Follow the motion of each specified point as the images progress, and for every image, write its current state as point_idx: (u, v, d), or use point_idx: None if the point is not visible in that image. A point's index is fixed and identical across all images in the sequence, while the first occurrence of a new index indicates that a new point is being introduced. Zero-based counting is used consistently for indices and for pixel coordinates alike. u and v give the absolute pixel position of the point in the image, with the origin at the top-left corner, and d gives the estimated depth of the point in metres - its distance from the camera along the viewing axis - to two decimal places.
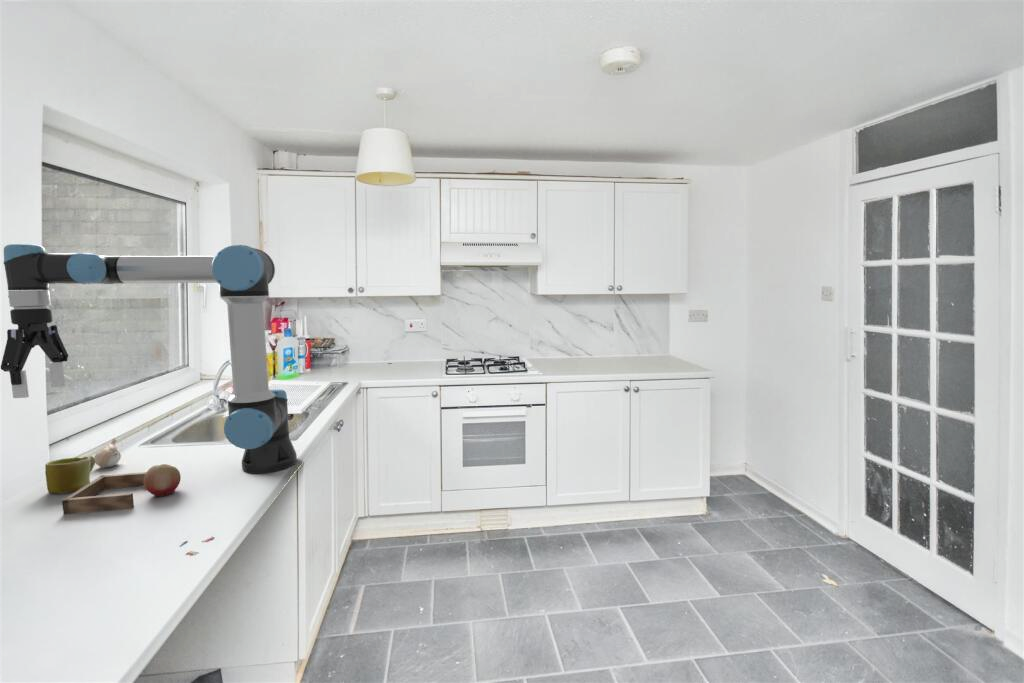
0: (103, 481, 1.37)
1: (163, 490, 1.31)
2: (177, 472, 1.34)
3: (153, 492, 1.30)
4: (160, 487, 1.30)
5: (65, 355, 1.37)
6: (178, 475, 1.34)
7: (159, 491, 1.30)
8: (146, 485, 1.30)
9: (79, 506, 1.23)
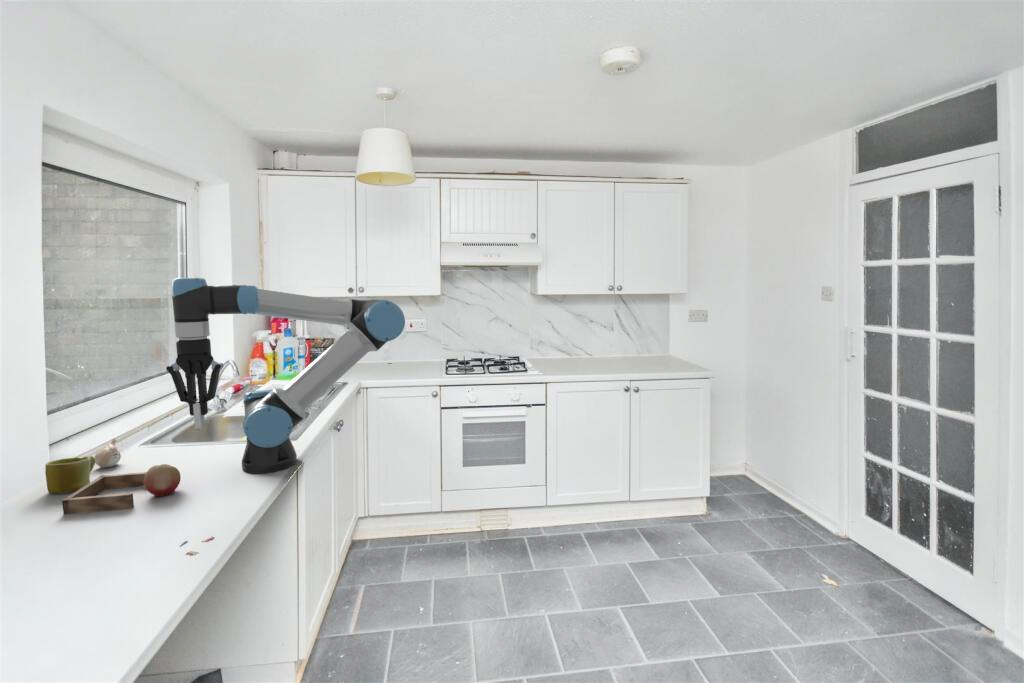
0: (103, 481, 1.37)
1: (163, 490, 1.31)
2: (177, 472, 1.34)
3: (153, 492, 1.30)
4: (160, 487, 1.30)
5: (207, 396, 1.33)
6: (178, 475, 1.34)
7: (159, 491, 1.30)
8: (146, 485, 1.30)
9: (79, 506, 1.23)
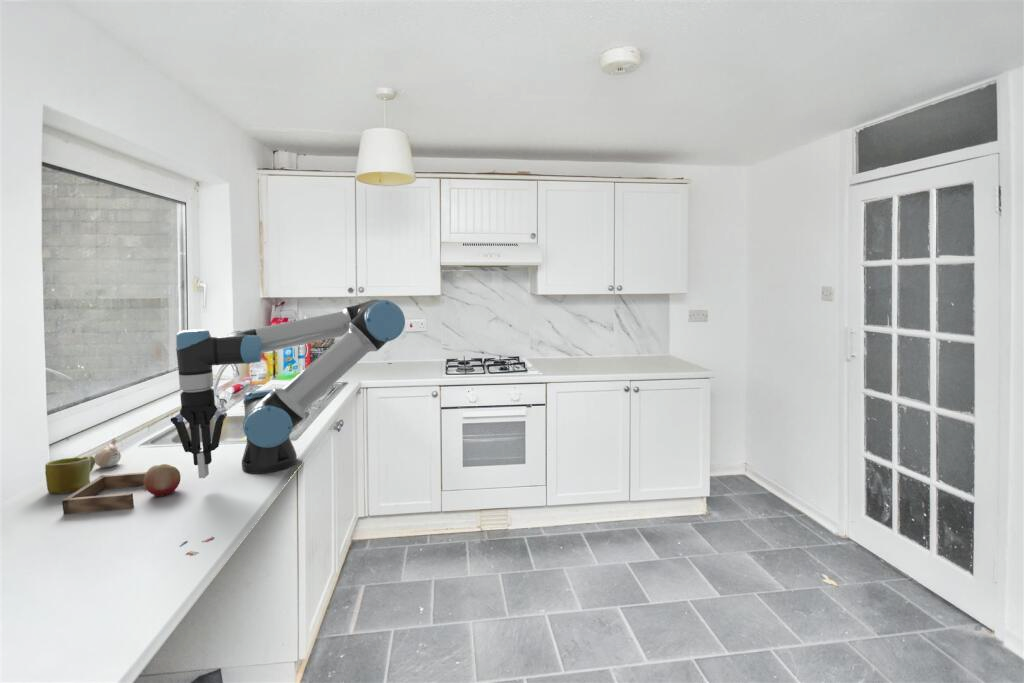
0: (103, 481, 1.37)
1: (163, 490, 1.31)
2: (177, 472, 1.34)
3: (153, 492, 1.30)
4: (160, 487, 1.30)
5: (211, 446, 1.34)
6: (178, 475, 1.34)
7: (159, 491, 1.30)
8: (146, 485, 1.30)
9: (79, 506, 1.23)
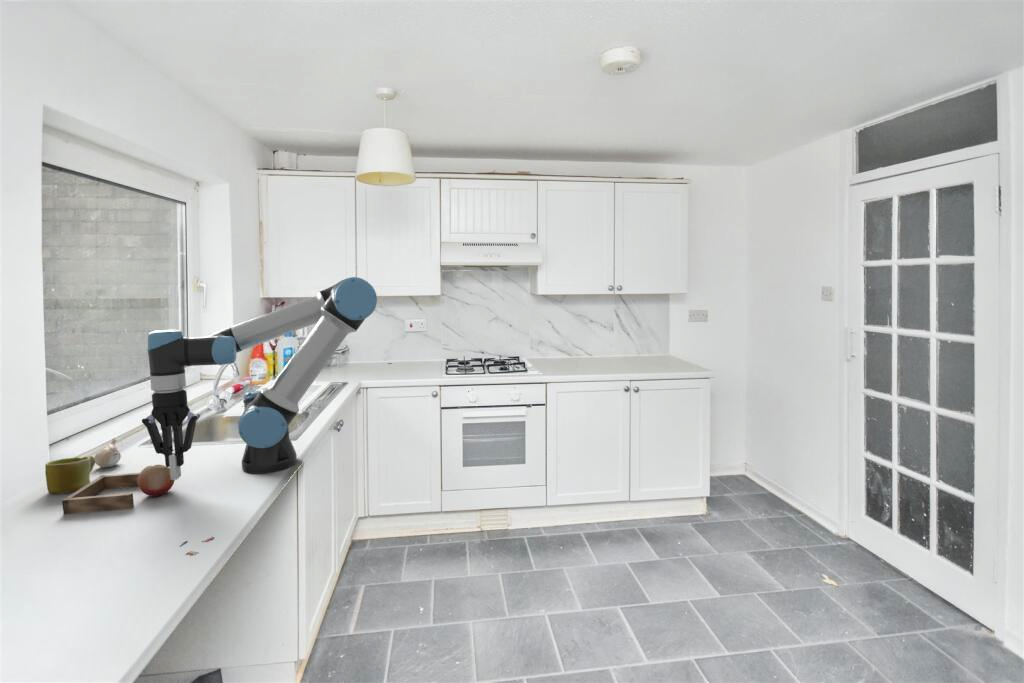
0: (103, 481, 1.37)
1: (157, 491, 1.30)
2: None
3: (147, 492, 1.30)
4: (154, 487, 1.30)
5: (183, 448, 1.33)
6: None
7: (153, 492, 1.30)
8: (140, 486, 1.30)
9: (79, 506, 1.23)
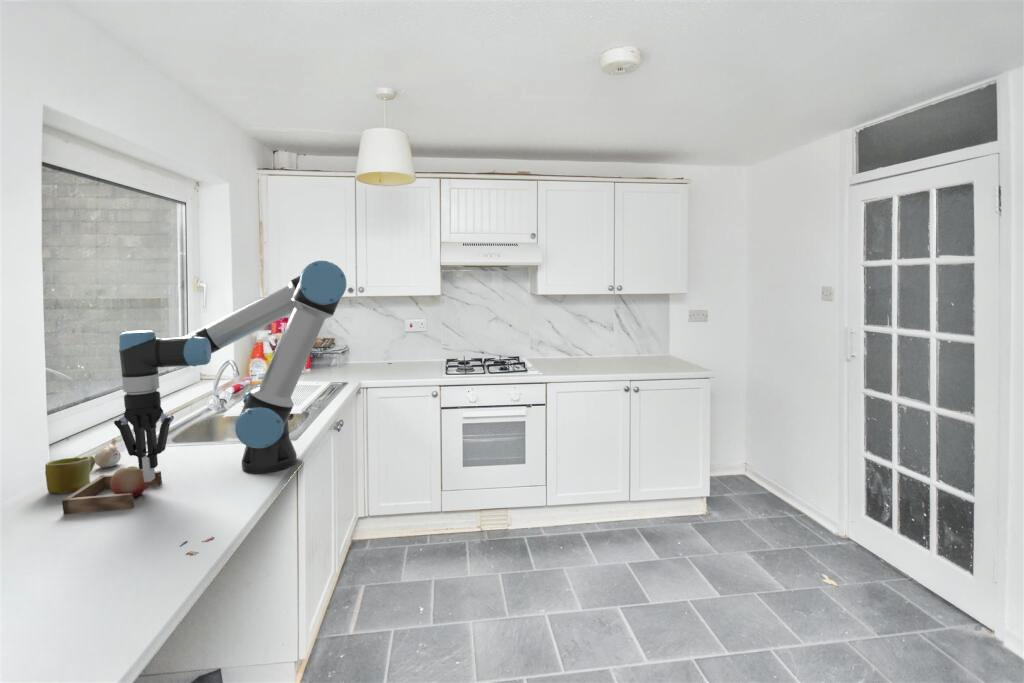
0: (103, 481, 1.37)
1: None
2: None
3: None
4: (127, 489, 1.28)
5: (156, 449, 1.31)
6: None
7: None
8: (113, 488, 1.28)
9: (79, 506, 1.23)
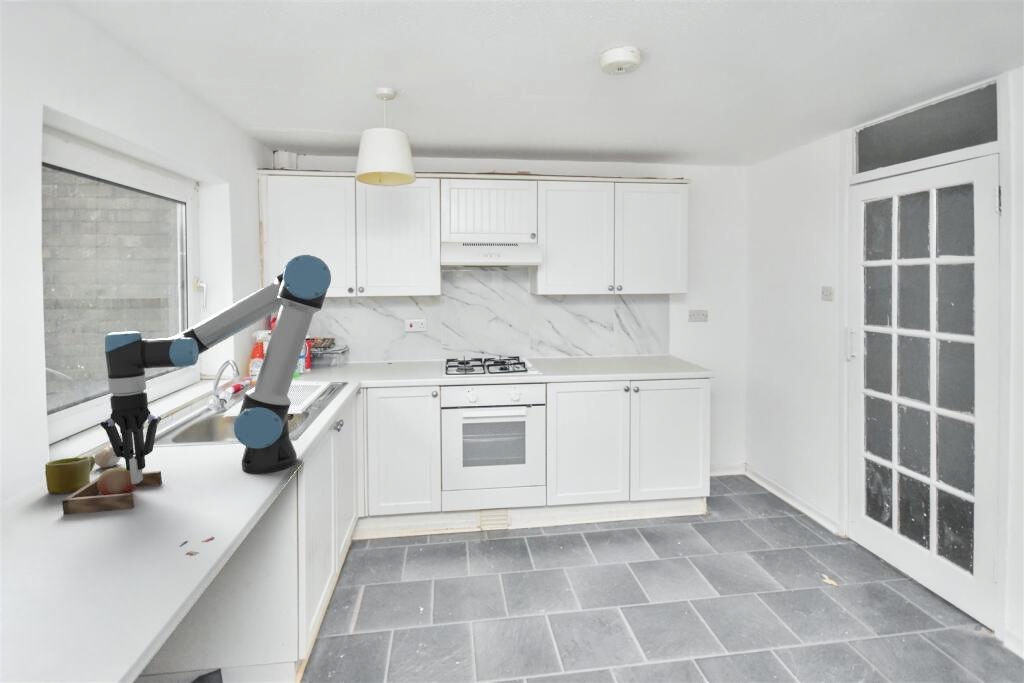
0: None
1: None
2: None
3: None
4: (114, 490, 1.28)
5: (144, 451, 1.31)
6: None
7: None
8: (99, 489, 1.28)
9: (79, 506, 1.23)
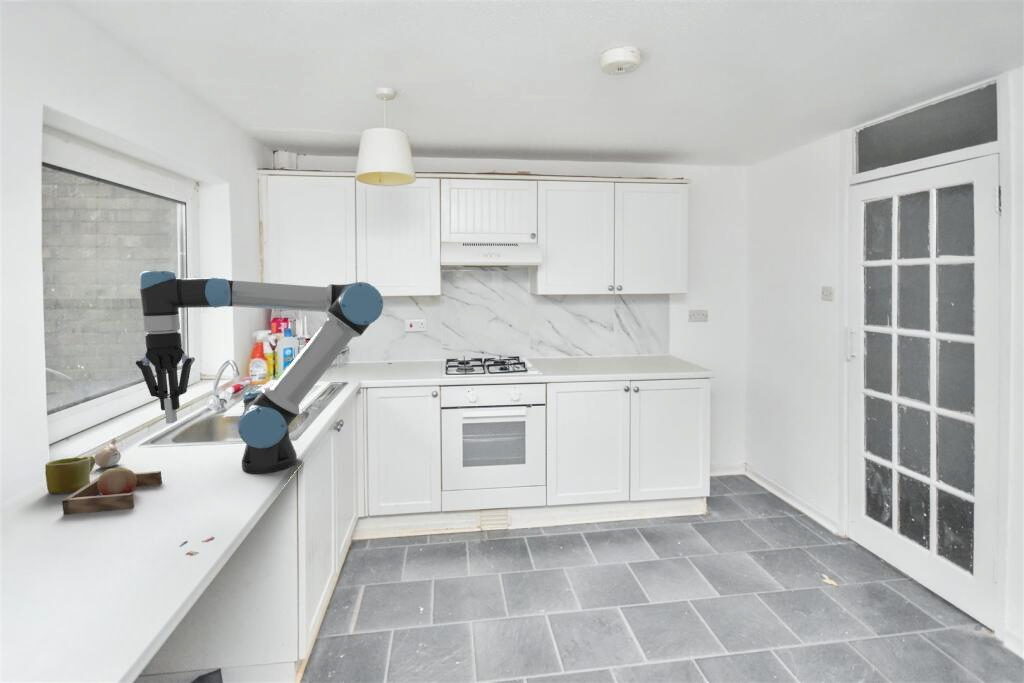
0: None
1: None
2: (132, 475, 1.32)
3: None
4: (114, 490, 1.28)
5: (178, 391, 1.31)
6: (133, 478, 1.32)
7: None
8: (99, 489, 1.28)
9: (79, 506, 1.23)
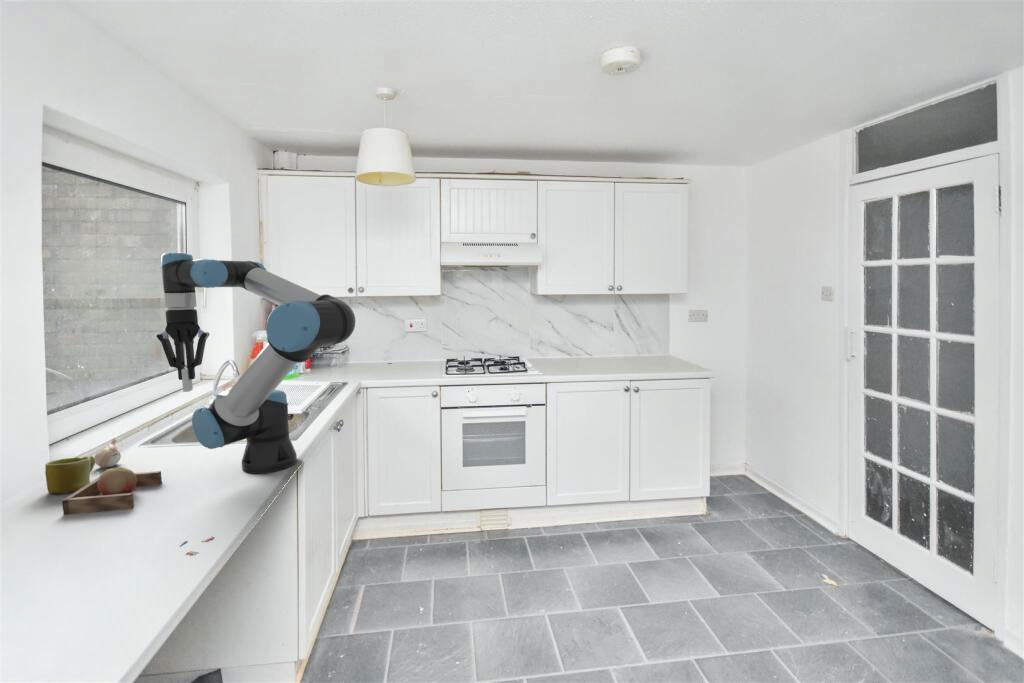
0: None
1: None
2: (132, 475, 1.32)
3: None
4: (114, 490, 1.28)
5: (194, 362, 1.45)
6: (133, 478, 1.32)
7: None
8: (99, 489, 1.28)
9: (79, 506, 1.23)
